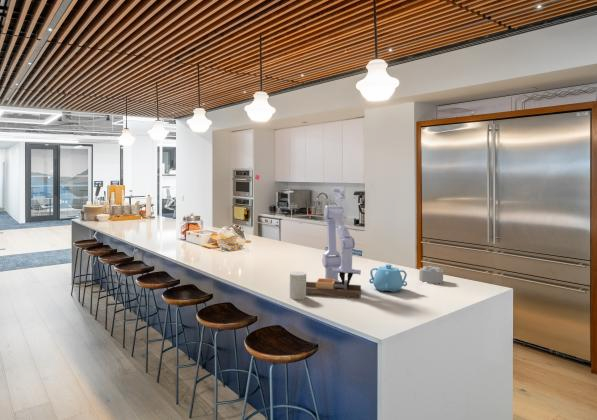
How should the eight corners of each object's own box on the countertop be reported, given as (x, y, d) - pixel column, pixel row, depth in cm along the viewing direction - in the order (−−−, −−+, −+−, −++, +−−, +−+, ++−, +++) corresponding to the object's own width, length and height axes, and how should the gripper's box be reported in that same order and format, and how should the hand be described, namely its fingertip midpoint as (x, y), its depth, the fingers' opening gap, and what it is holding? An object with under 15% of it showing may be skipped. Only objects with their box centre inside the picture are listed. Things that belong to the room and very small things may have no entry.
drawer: (318, 287, 225) (318, 278, 224) (347, 289, 222) (348, 279, 221) (315, 291, 216) (315, 282, 216) (346, 294, 213) (346, 284, 213)
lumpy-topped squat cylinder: (443, 284, 239) (443, 269, 239) (419, 282, 243) (419, 267, 242) (441, 280, 249) (442, 265, 249) (418, 278, 253) (419, 264, 252)
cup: (291, 300, 205) (292, 275, 204) (287, 295, 213) (288, 271, 212) (307, 298, 208) (308, 274, 207) (303, 294, 215) (303, 271, 214)
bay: (297, 287, 229) (297, 274, 229) (360, 291, 223) (361, 278, 222) (292, 293, 217) (292, 280, 216) (359, 298, 210) (359, 284, 209)
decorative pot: (391, 284, 238) (392, 260, 237) (409, 292, 223) (410, 266, 222) (366, 287, 231) (367, 262, 230) (383, 294, 217) (384, 268, 216)
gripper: (331, 261, 214) (330, 288, 215) (360, 263, 211) (359, 290, 212) (333, 259, 221) (332, 284, 222) (361, 260, 218) (360, 286, 219)
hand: (345, 287), depth 217 cm, fingers closed on drawer
